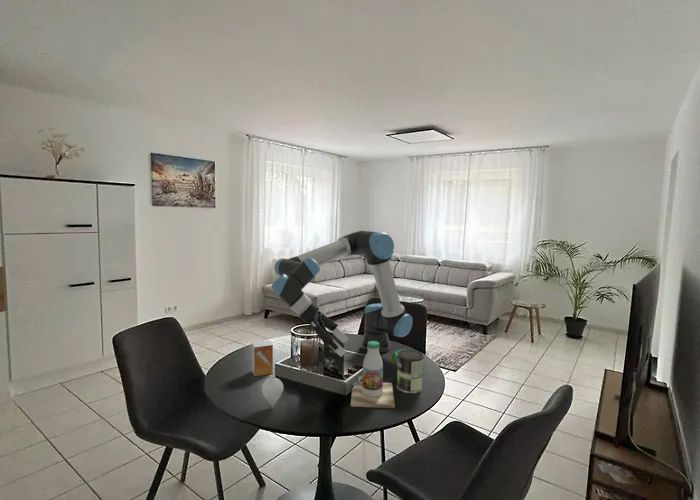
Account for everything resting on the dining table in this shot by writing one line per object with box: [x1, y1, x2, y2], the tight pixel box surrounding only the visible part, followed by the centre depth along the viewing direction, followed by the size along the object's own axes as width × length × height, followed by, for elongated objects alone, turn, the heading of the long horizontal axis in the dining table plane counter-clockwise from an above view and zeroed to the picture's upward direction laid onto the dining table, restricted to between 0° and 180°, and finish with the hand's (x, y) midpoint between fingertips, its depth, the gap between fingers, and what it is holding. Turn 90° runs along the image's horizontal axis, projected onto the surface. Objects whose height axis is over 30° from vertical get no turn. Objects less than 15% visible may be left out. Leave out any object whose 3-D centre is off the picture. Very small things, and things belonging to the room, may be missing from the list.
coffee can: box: [396, 349, 424, 394], centre depth 155 cm, size 10×10×14 cm
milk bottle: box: [362, 341, 384, 397], centre depth 147 cm, size 8×8×20 cm
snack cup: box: [390, 348, 425, 373], centre depth 166 cm, size 16×10×10 cm
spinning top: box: [261, 374, 284, 408], centre depth 138 cm, size 8×8×12 cm
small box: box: [251, 340, 274, 377], centre depth 167 cm, size 8×6×13 cm
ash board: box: [350, 381, 396, 409], centre depth 148 cm, size 18×16×1 cm
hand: (344, 347), depth 147 cm, fingers open, 13 cm apart
